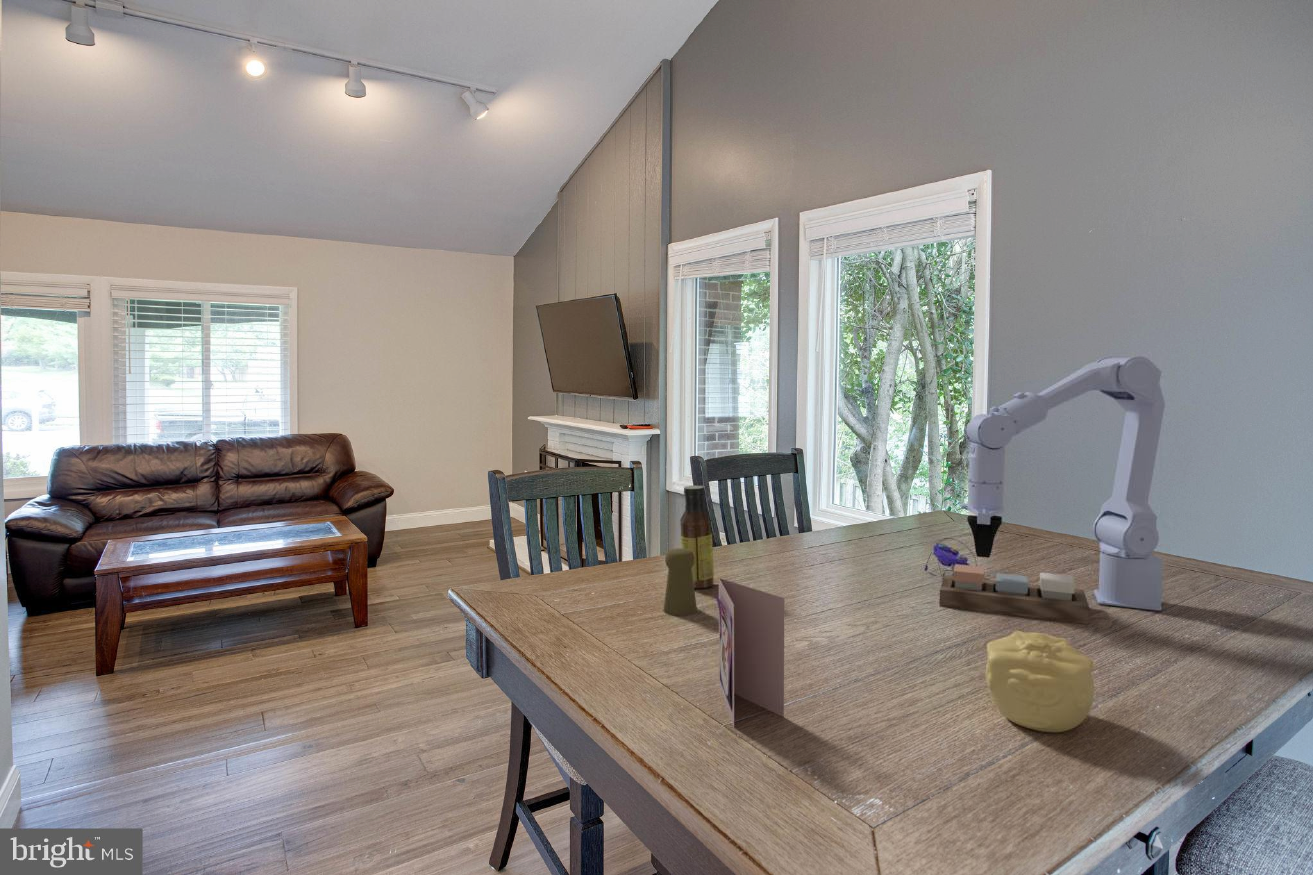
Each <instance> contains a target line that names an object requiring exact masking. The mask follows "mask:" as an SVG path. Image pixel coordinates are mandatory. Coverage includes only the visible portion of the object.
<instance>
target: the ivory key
mask: <svg viewBox="0 0 1313 875" xmlns="http://www.w3.org/2000/svg"><path fill="white" fill-rule="evenodd" d="M1074 580H1075V579H1074V577H1073V575H1068V574H1060V573H1059V574H1057V573H1047V572H1039V585H1040V589H1041V593H1042V598H1048V599H1057V600H1066V601H1072V594H1074V589H1075V581H1074Z"/></svg>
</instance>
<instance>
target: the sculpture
mask: <svg viewBox="0 0 1313 875" xmlns="http://www.w3.org/2000/svg"><path fill="white" fill-rule="evenodd" d="M986 651H987V652H986V653H987V656H986V657H987V662H986V666H985V680H986V685H987V689H988V691H989V694H990V697H991V699H992V701H993V703H994V705H995V706H996V708H997V710H999V712H1000V713H1001V714H1002V715H1003V716H1004V717H1005V718H1007V719H1008V720H1009V721H1011V722H1013V724H1016V725H1019V726H1021V727H1023V728H1027V729H1030V730H1034V731H1039V732H1045V733H1061V732H1063V733H1064V732H1067V731H1069V730H1072V729H1075V728H1076V727H1077V726H1079V725H1080V724H1081V723H1082V722H1084V720H1085V719H1086V718H1087V716H1088V715H1089V713H1090V711H1091V709H1092V706H1093V702H1094V698H1095V697H1094V696H1095V683H1094V677H1093V674H1092V673H1093V672H1092V670H1093V668H1094V662H1093V661H1092V660H1091V659H1090V658H1089V657H1088V656H1087V655H1085V654H1083V653H1082V652H1080V651H1079V650H1077V649H1076V648H1075V647H1074V646H1073V645H1072V644H1071V643H1070V642H1069V641H1068V639H1066V638H1064V637H1056V636H1054V635H1051V634H1047V633H1044V632H1043V633H1042V632H1024V631H1023V630H1022V631H1021V630H1015V631H1014V632H1012V633H1011V634H1010V635H1008V636H1004V637H1001V638H997V639H994V640H992V641H989V642H988V643H987V644H986Z"/></svg>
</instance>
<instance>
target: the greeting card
mask: <svg viewBox="0 0 1313 875" xmlns="http://www.w3.org/2000/svg"><path fill="white" fill-rule="evenodd" d="M713 593H714V595H715V596H714V597H715V599H716V602H717V606H718V687H720V688H719V689H720V692H721V696H722V695H723V696H722V699H723V698H724V699H723V701H724V704H725V707H726V710H727V712H728V715H729V718H730V721H731V724H732V726H733V728H735V695H736V696H738V697H740V698H742V699H745V700H747V701H748V702H751V703H753V704H755V705H757V706H759V707H761V708H764V709H766V710H768V711H770V712H771V713H774V714H776V715H778V716H780V717H782V718H784V717H785V711H784V710H785V708H784V707H785V597H782V596H779V595H777V594H773V593H769V592H766V591H762V590H760V589H756V588H753V587H751V586H746V585H744V584H740V583H737V582H734V581H730V580H727V579H724V578H721V577H718V595H717V594H716V592H715V591H713Z"/></svg>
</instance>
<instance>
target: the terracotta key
mask: <svg viewBox="0 0 1313 875" xmlns="http://www.w3.org/2000/svg"><path fill="white" fill-rule="evenodd" d="M969 565H970V564H969ZM969 565H958V564H955V567H954V570H952V576H953V581H955V588H959V589H968V590H977V591H982V584H983V583H984V579H985V572H986V571H985V570H986V569H985V568H986V567H985V566H980V565H979V566H976V565H970V566H969Z"/></svg>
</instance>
